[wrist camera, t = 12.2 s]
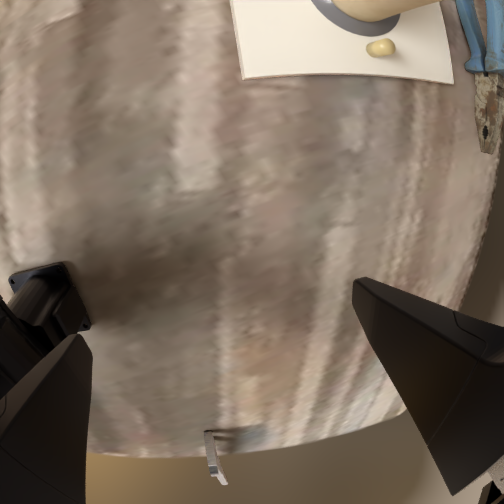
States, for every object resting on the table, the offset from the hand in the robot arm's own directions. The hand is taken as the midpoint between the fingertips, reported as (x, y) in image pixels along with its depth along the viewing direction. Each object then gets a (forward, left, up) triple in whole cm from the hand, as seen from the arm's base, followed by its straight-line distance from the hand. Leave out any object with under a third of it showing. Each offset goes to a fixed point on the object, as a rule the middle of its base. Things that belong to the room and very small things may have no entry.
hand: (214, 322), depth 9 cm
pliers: (+26, +12, -13) cm, 31 cm away
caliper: (-7, -37, -14) cm, 40 cm away
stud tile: (+13, +15, -13) cm, 24 cm away
